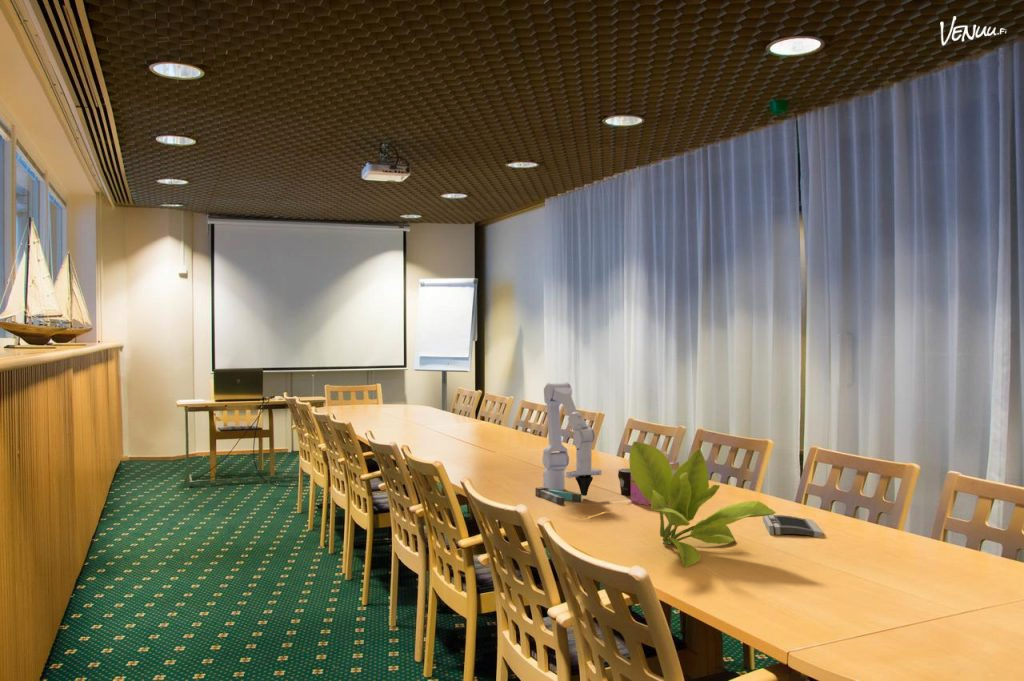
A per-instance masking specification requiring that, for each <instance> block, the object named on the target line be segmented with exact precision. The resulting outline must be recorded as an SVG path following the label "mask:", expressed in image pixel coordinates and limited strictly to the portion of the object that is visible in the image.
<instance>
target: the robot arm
mask: <svg viewBox="0 0 1024 681" xmlns="http://www.w3.org/2000/svg"><path fill="white" fill-rule="evenodd" d="M572 394H573V389H572V387H571V384H570V383H569V382H556V383H555V382H548V383H546V384H545V385H544V387H543V399H544V403H545V405H546V415H547V432H548V433H547V434H548V445H547V446H546V448H544V449H543V451H542V452H543V453H542V464H543V466H544V468H545V469H544V470H543V474H542V476H543V477H542V478H543V480H542V481H543V482H542V483H543V486H542V487H548V488H549V490H556V491H565V489H566V488H565V487H566V485H565V484H566V482H565V480H566V479H565V477H566V478H568V479H572V478H575V480H576V482H577V485H578V486H579V487H578V488H579V491H580V494H581V496H584V497H585V496H586V497H587V495H588V492H589V489H590V485H591V484H592V481H593V479H594V478H593V476H602V469H599V468H598V469H592V443H593V442H594V440H595V435H596V434H595V431H594V429H593V428H592V427H590V425H588V424H587V423H586V421H585V418H584V416H583V414H582V413H581V412H578V410H577V408H576V406H575V402H574V400H573V398H572ZM561 405H562V407H563V408H564V409H565V411H566V413H567V414H568V418H567V420H568V423H569V425H570V427H571V429H572V431H573V436H572V437H573V441H574V446H575V449H576V450H575V451H576V452H575V454H576V463H575V464H576V470H572V471H567V472H566V471H565V470H566V469H567V467H568V465H569V463H570V456H569V453H568V448H567V447H565V446H564V445H563V444H562V431H561V428H562V427H561V413H560V411H561V410H560V406H561Z"/></svg>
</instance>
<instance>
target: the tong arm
mask: <svg viewBox="0 0 1024 681" xmlns="http://www.w3.org/2000/svg"><path fill="white" fill-rule="evenodd" d="M549 492H550V493H553V494H555V495H558V496H561V497H564V501H569V502H570V501H572V502H576V503H577V502H578V503H581V502H582V495H581V493H577V492H570V491H569V492H566V491H564V490H561V491H556V490H549Z"/></svg>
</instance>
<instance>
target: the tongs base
mask: <svg viewBox="0 0 1024 681" xmlns="http://www.w3.org/2000/svg"><path fill="white" fill-rule="evenodd" d="M534 489H535V496H536V497H540V498H542V499H544V500H548V501H550V502H552V503H555V504H557V505H560V506H564V505H565V500H564V497H561V496H558V495H555V494H553V493H550V492H549V488H548V487H543V486H538V487H535V488H534Z"/></svg>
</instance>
